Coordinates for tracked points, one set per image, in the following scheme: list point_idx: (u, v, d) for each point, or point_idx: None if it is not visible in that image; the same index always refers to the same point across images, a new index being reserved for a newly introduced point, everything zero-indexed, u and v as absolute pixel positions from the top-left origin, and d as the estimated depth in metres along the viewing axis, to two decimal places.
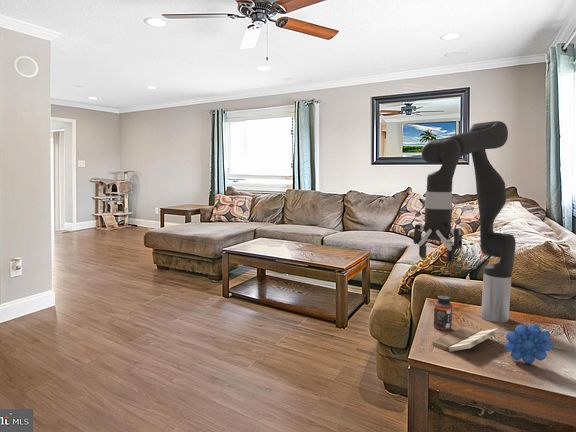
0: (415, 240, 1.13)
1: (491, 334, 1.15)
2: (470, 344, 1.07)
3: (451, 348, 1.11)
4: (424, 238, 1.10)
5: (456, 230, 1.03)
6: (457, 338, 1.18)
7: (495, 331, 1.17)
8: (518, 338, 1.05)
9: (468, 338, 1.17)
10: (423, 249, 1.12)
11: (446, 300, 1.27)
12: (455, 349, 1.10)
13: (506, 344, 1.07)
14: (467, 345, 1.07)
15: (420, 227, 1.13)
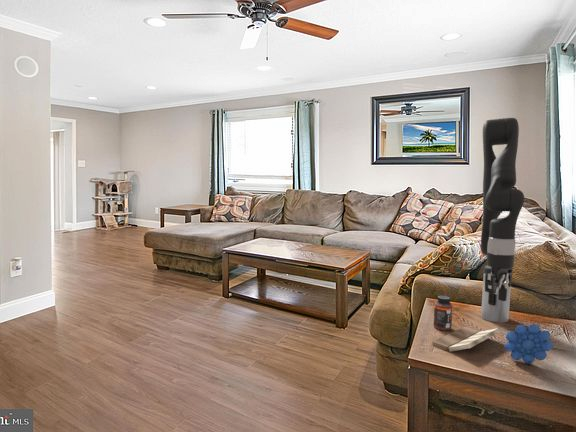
0: (494, 290, 1.11)
1: (491, 334, 1.15)
2: (470, 344, 1.07)
3: (451, 348, 1.11)
4: (500, 285, 1.13)
5: (512, 270, 1.18)
6: (457, 338, 1.18)
7: (495, 331, 1.17)
8: (518, 338, 1.05)
9: (468, 338, 1.17)
10: None
11: (446, 300, 1.27)
12: (455, 349, 1.10)
13: (506, 344, 1.07)
14: (467, 345, 1.07)
15: None
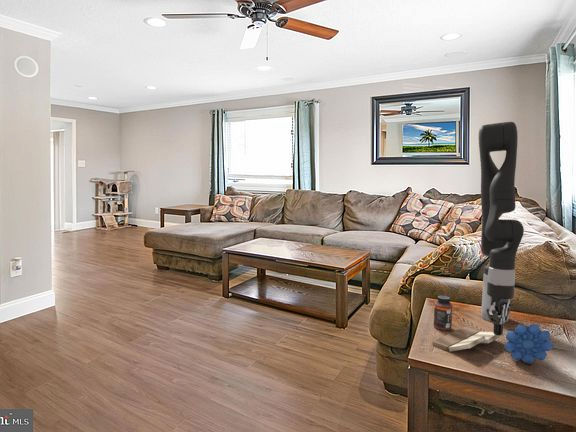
0: (499, 321, 1.14)
1: (493, 338, 1.15)
2: (470, 344, 1.07)
3: (451, 348, 1.11)
4: (503, 315, 1.14)
5: None
6: (457, 338, 1.18)
7: (497, 335, 1.17)
8: (518, 338, 1.05)
9: None
10: None
11: (446, 300, 1.27)
12: (455, 349, 1.10)
13: (506, 344, 1.07)
14: (467, 345, 1.07)
15: (494, 309, 1.13)
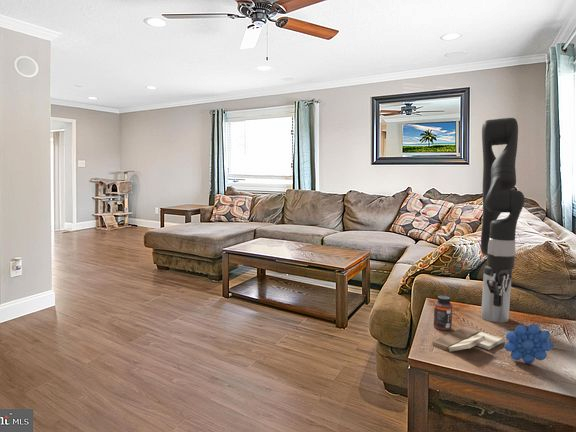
0: (499, 292, 1.13)
1: (494, 345, 1.14)
2: (470, 344, 1.07)
3: (451, 348, 1.11)
4: (503, 286, 1.14)
5: (511, 277, 1.18)
6: (457, 338, 1.18)
7: (499, 341, 1.16)
8: (518, 338, 1.05)
9: None
10: None
11: (446, 300, 1.27)
12: (455, 349, 1.10)
13: (506, 344, 1.07)
14: (467, 345, 1.07)
15: (494, 280, 1.12)
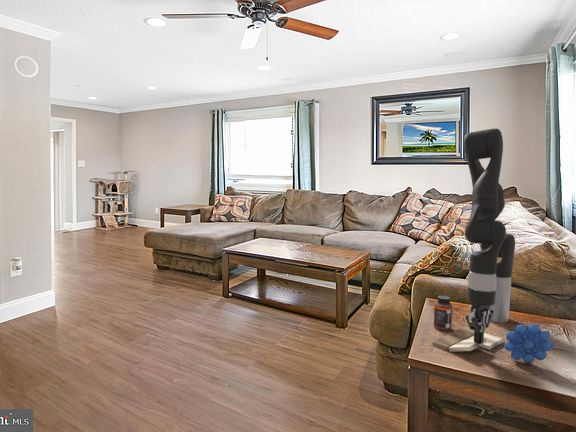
0: (479, 328, 1.06)
1: (494, 345, 1.14)
2: (471, 347, 1.07)
3: (451, 348, 1.11)
4: (484, 322, 1.07)
5: None
6: (457, 338, 1.18)
7: (499, 341, 1.16)
8: (518, 338, 1.05)
9: None
10: None
11: (446, 300, 1.27)
12: (455, 350, 1.10)
13: (506, 344, 1.07)
14: (468, 347, 1.07)
15: (473, 317, 1.05)
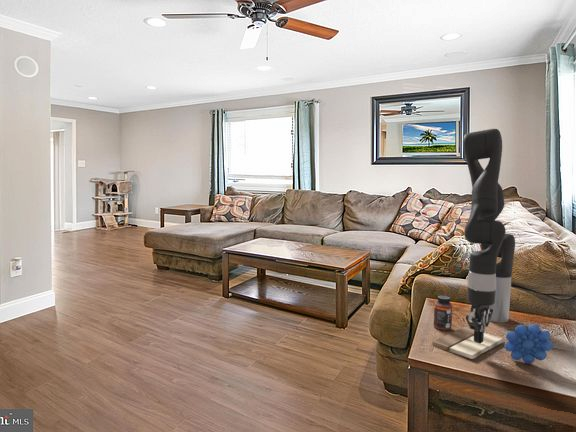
0: (479, 328, 1.07)
1: (494, 345, 1.14)
2: (474, 355, 1.07)
3: (452, 350, 1.11)
4: (483, 322, 1.07)
5: (492, 311, 1.11)
6: (457, 338, 1.18)
7: (499, 341, 1.16)
8: (518, 338, 1.05)
9: (470, 340, 1.17)
10: None
11: (446, 300, 1.27)
12: (456, 352, 1.10)
13: (506, 344, 1.07)
14: (471, 355, 1.06)
15: (474, 316, 1.06)
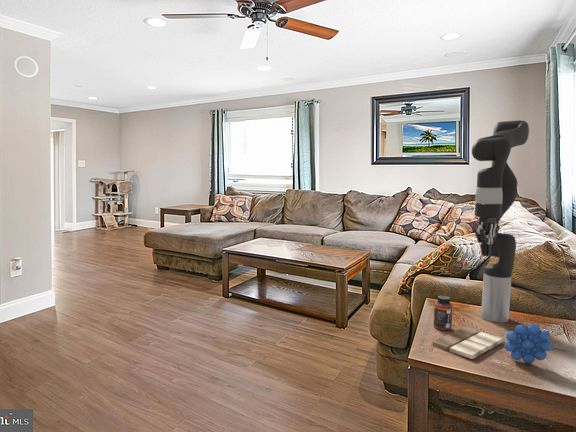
0: (487, 240, 1.13)
1: (494, 345, 1.14)
2: (474, 355, 1.07)
3: (452, 350, 1.11)
4: (491, 235, 1.14)
5: (499, 227, 1.18)
6: (457, 338, 1.18)
7: (499, 341, 1.16)
8: (518, 338, 1.05)
9: (470, 340, 1.17)
10: None
11: (446, 300, 1.27)
12: (456, 352, 1.10)
13: (506, 344, 1.07)
14: (471, 355, 1.06)
15: (481, 228, 1.12)
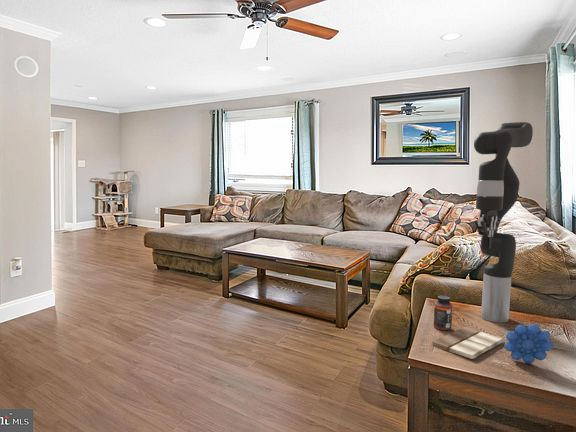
0: (487, 232, 1.14)
1: (494, 345, 1.14)
2: (474, 355, 1.07)
3: (452, 350, 1.11)
4: (491, 227, 1.15)
5: (500, 220, 1.19)
6: (457, 338, 1.18)
7: (499, 341, 1.16)
8: (518, 338, 1.05)
9: (470, 340, 1.17)
10: None
11: (446, 300, 1.27)
12: (456, 352, 1.10)
13: (506, 344, 1.07)
14: (471, 355, 1.06)
15: None
